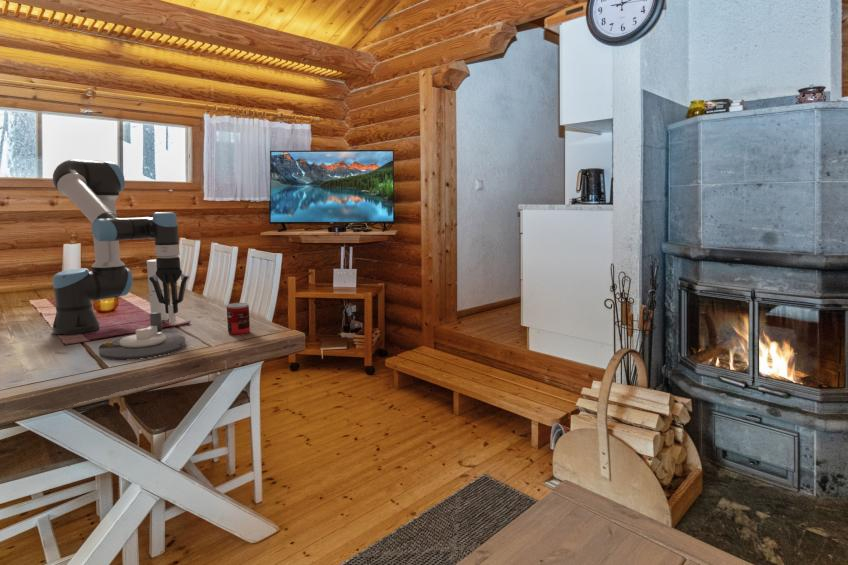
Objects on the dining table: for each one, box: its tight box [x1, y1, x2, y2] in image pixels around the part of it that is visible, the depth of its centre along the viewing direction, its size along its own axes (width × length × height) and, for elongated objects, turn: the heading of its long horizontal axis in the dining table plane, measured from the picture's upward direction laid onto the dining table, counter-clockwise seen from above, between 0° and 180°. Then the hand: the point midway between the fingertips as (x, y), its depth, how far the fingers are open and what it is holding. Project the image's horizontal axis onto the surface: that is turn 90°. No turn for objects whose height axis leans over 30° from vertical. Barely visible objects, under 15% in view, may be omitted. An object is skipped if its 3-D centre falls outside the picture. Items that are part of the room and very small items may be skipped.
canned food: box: [226, 302, 251, 336], centre depth 201 cm, size 8×8×11 cm
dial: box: [119, 312, 166, 348], centre depth 182 cm, size 19×14×8 cm
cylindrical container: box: [146, 259, 169, 321], centre depth 222 cm, size 7×7×25 cm
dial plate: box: [98, 331, 187, 361], centre depth 181 cm, size 26×26×2 cm
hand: (172, 322), depth 190 cm, fingers closed
